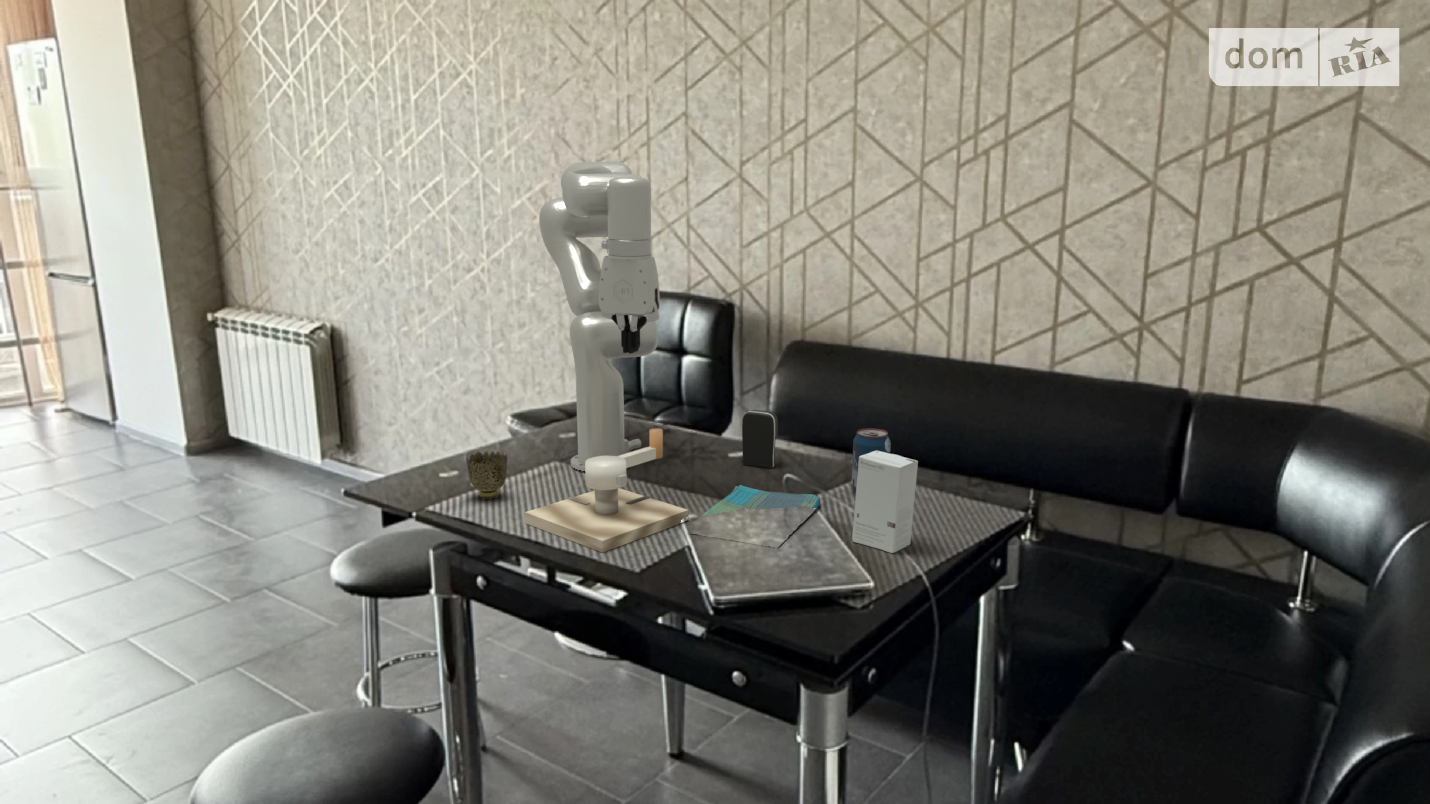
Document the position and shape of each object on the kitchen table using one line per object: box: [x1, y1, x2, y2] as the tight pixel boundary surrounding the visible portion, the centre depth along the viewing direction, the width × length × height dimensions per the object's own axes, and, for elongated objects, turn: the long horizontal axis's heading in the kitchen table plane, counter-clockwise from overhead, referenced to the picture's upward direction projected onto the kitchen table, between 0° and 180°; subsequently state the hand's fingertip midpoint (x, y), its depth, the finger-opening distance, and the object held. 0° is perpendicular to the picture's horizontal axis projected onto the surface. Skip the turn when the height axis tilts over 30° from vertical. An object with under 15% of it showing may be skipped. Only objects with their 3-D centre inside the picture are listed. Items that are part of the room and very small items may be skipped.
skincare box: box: [851, 451, 919, 554], centre depth 170 cm, size 8×6×15 cm
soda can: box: [851, 427, 892, 495], centre depth 195 cm, size 7×7×12 cm
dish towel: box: [701, 484, 821, 516], centre depth 183 cm, size 17×23×3 cm
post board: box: [524, 488, 689, 553], centre depth 180 cm, size 20×20×7 cm
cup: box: [465, 450, 508, 500], centre depth 193 cm, size 8×7×8 cm
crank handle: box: [585, 427, 664, 490], centre depth 183 cm, size 9×17×7 cm, turn 139°
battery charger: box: [741, 409, 779, 469], centre depth 213 cm, size 7×4×11 cm, turn 66°
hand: (630, 351), depth 187 cm, fingers closed
